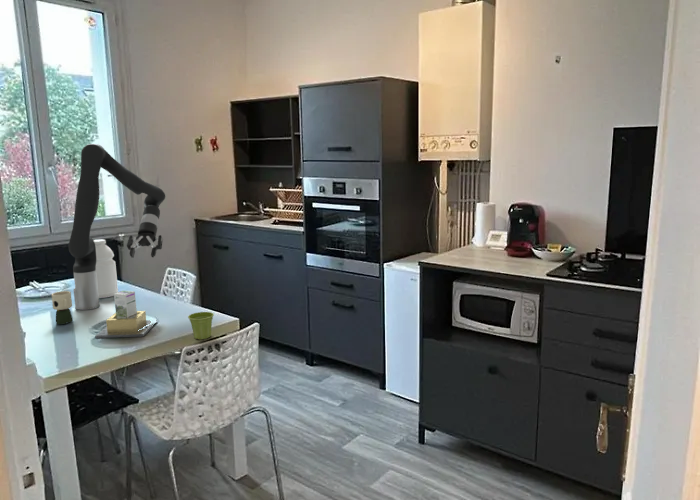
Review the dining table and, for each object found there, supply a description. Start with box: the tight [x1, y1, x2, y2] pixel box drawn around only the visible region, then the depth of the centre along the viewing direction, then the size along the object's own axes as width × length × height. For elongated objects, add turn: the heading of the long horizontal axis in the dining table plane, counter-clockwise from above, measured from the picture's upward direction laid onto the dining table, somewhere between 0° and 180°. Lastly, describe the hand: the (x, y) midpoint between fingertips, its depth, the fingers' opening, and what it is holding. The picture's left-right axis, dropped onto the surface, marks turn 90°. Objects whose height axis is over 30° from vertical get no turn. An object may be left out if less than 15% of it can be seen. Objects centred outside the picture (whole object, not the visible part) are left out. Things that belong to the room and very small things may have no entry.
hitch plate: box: [95, 310, 158, 339], centre depth 213 cm, size 18×18×6 cm
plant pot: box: [187, 311, 215, 340], centre depth 203 cm, size 9×9×9 cm
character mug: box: [51, 290, 74, 325], centre depth 223 cm, size 11×7×13 cm, turn 44°
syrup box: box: [113, 290, 138, 319], centre depth 213 cm, size 6×6×14 cm
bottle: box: [93, 238, 119, 299], centre depth 268 cm, size 14×14×28 cm
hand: (142, 256), depth 228 cm, fingers open, 8 cm apart
